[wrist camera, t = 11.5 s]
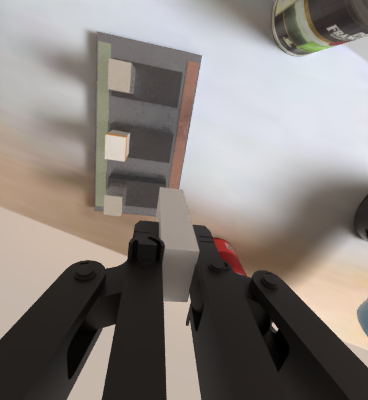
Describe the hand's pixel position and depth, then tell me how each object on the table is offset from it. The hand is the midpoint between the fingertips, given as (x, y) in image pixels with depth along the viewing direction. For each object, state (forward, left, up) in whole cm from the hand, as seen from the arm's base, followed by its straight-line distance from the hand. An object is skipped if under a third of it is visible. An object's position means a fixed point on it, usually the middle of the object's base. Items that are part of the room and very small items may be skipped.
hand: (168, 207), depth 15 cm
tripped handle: (+6, 0, -20) cm, 21 cm away
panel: (+3, 0, -24) cm, 24 cm away
